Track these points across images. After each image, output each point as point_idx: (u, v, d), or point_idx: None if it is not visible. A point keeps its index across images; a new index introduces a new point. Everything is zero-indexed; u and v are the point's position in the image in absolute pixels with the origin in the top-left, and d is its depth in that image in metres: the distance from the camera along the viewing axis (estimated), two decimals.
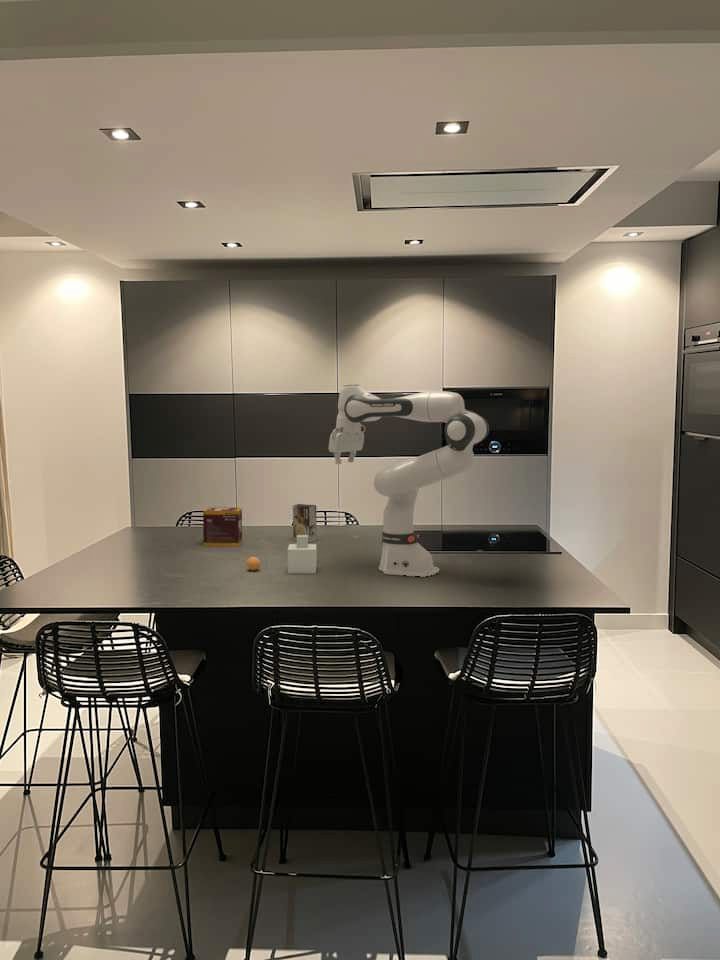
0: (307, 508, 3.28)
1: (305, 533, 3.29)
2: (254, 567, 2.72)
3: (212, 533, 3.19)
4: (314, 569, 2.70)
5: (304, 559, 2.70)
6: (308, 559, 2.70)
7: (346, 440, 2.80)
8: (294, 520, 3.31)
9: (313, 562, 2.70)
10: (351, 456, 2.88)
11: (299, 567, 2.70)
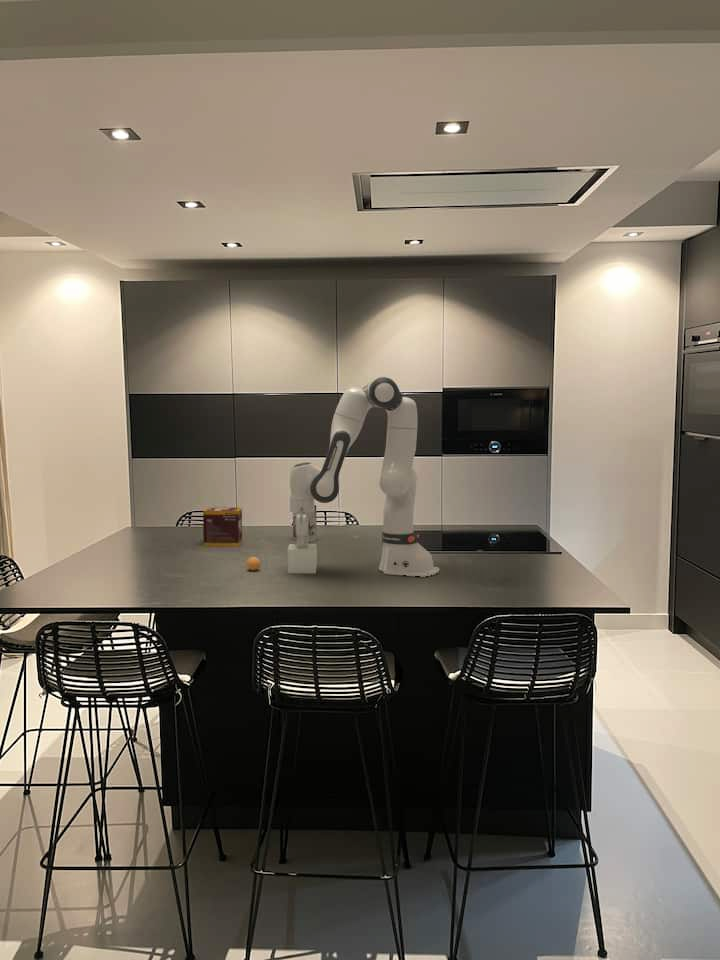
0: None
1: None
2: (254, 567, 2.72)
3: (212, 533, 3.19)
4: (314, 569, 2.70)
5: (304, 559, 2.70)
6: (308, 559, 2.70)
7: (306, 520, 2.71)
8: (294, 520, 3.31)
9: (313, 562, 2.70)
10: None
11: (299, 567, 2.70)
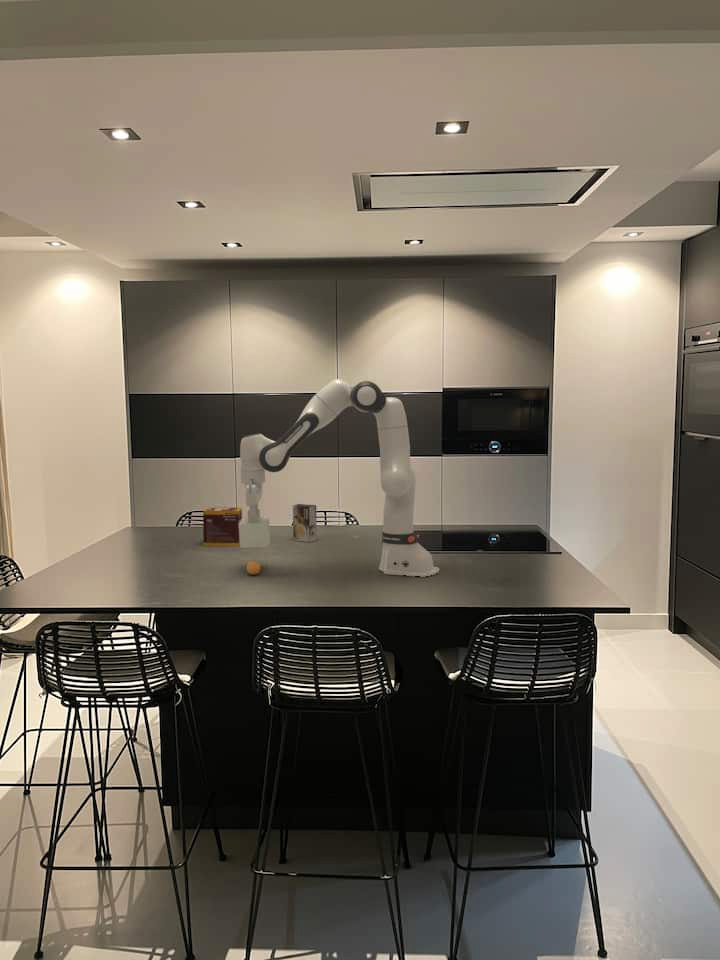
0: (307, 508, 3.28)
1: (305, 533, 3.29)
2: None
3: (212, 533, 3.19)
4: (266, 543, 2.71)
5: (256, 533, 2.71)
6: (260, 533, 2.71)
7: (256, 491, 2.71)
8: (294, 520, 3.31)
9: (264, 536, 2.71)
10: None
11: (251, 541, 2.71)
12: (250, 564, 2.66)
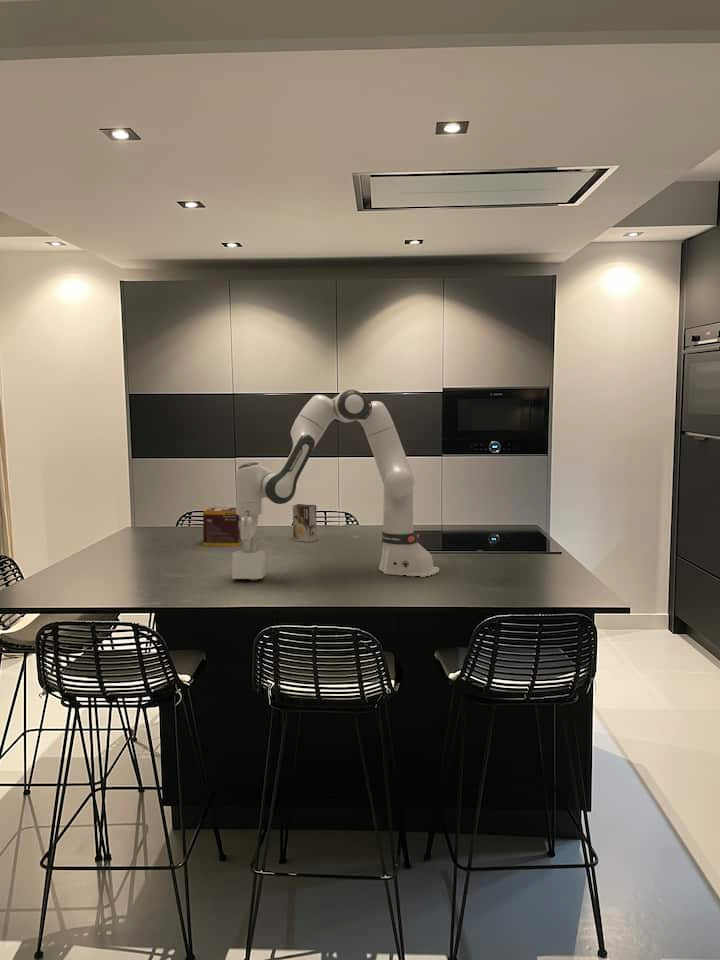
0: (307, 508, 3.28)
1: (305, 533, 3.29)
2: None
3: (212, 533, 3.19)
4: (260, 574, 2.56)
5: (250, 563, 2.56)
6: (254, 563, 2.56)
7: (252, 524, 2.58)
8: (294, 520, 3.31)
9: (259, 567, 2.56)
10: None
11: (244, 571, 2.56)
12: None
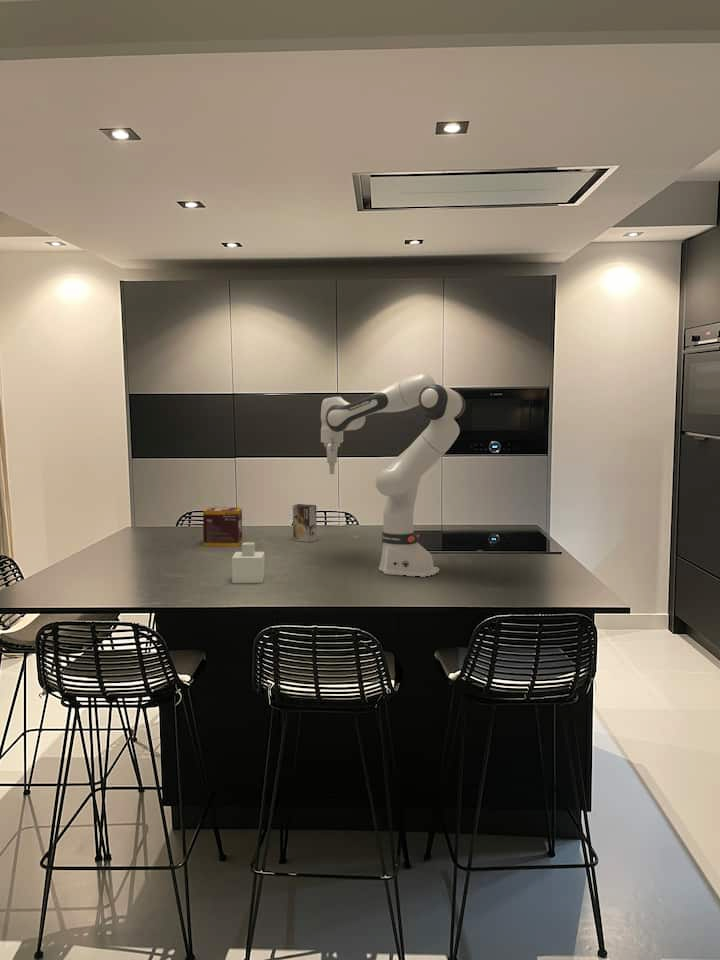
0: (307, 508, 3.28)
1: (305, 533, 3.29)
2: None
3: (212, 533, 3.19)
4: (260, 578, 2.56)
5: (249, 567, 2.55)
6: (254, 568, 2.55)
7: None
8: (294, 520, 3.31)
9: (258, 571, 2.56)
10: None
11: (244, 576, 2.56)
12: None
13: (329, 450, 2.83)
